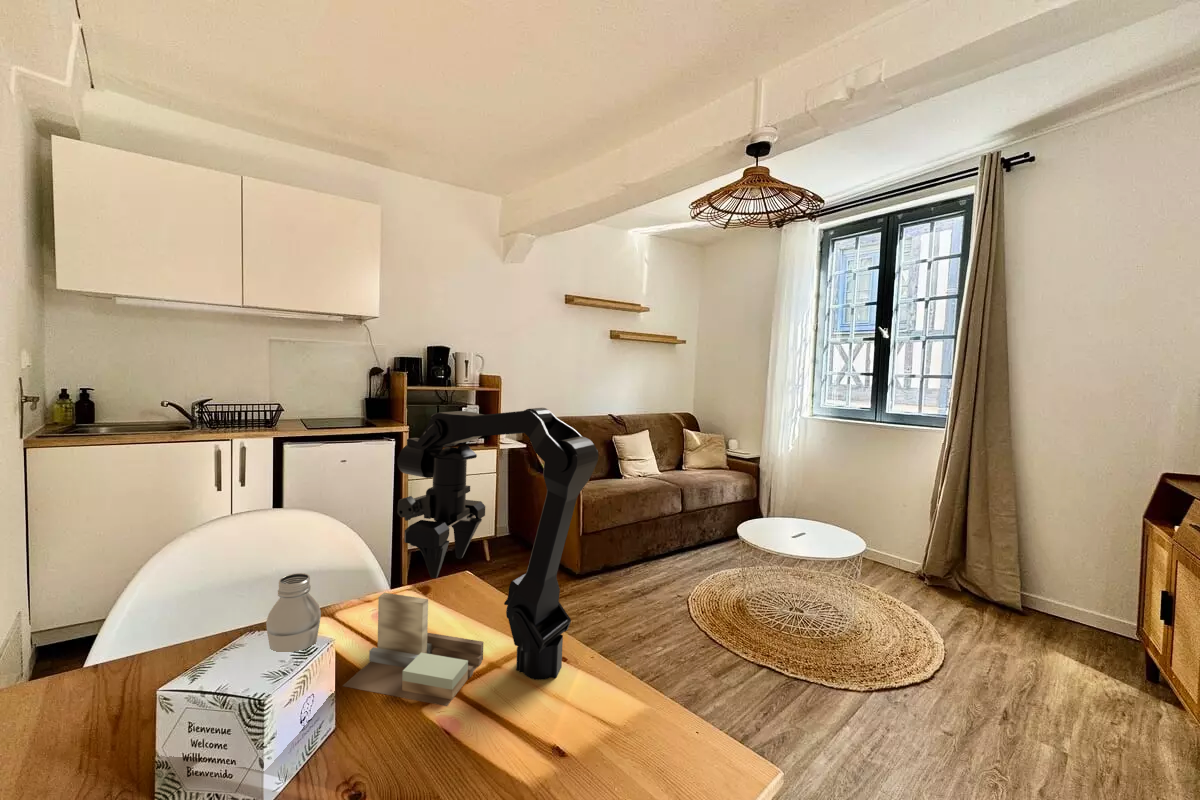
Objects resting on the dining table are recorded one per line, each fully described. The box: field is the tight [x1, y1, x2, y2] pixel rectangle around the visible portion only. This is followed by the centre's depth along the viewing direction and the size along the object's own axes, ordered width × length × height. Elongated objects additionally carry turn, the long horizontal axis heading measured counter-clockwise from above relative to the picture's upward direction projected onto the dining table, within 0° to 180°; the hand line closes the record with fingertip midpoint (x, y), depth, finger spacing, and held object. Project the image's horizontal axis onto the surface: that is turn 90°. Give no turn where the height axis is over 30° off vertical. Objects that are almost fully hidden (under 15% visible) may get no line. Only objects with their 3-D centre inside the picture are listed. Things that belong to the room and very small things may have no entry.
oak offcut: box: [402, 670, 469, 701], centre depth 76 cm, size 8×5×2 cm, turn 79°
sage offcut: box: [402, 653, 468, 690], centre depth 76 cm, size 8×5×2 cm, turn 79°
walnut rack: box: [342, 632, 485, 707], centre depth 79 cm, size 17×12×4 cm
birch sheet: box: [377, 592, 429, 655], centre depth 83 cm, size 8×2×10 cm, turn 79°
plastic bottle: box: [265, 572, 322, 652], centre depth 68 cm, size 6×7×20 cm
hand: (447, 567), depth 91 cm, fingers open, 9 cm apart
